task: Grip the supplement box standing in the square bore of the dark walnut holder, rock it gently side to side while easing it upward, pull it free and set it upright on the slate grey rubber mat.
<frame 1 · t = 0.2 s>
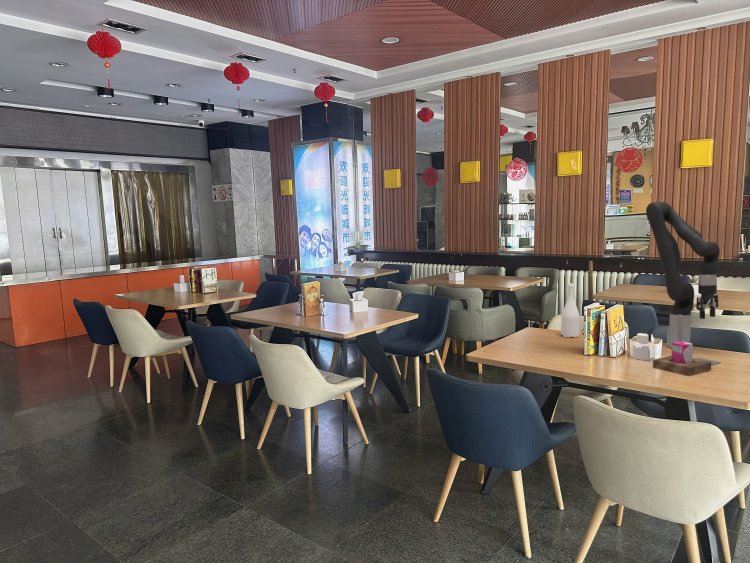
hand: (707, 317, 255), 17 cm above the table, tool pointing down, fingers open, 8 cm apart
holder: (681, 368, 232), on the table
mat: (703, 362, 241), on the table
supplement box: (681, 369, 232), resting in holder
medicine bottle: (643, 358, 251), on the table
wine bottle: (570, 336, 301), on the table
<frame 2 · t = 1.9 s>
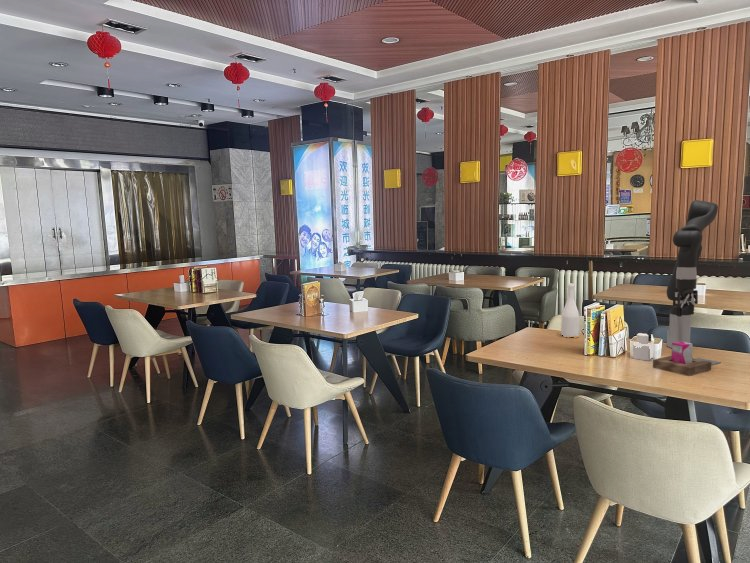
hand: (685, 315, 229), 23 cm above the table, tool pointing down, fingers open, 8 cm apart
nothing on the table moved.
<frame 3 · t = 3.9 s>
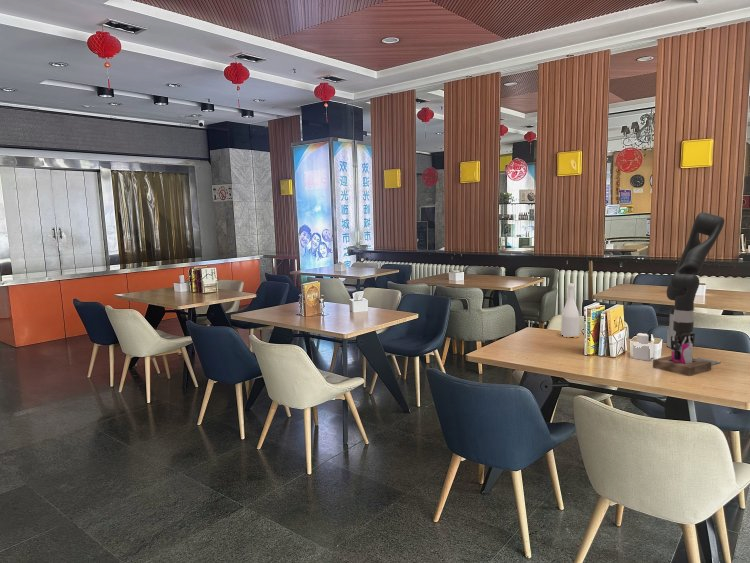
hand: (682, 358, 231), 5 cm above the table, tool pointing down, fingers closed on supplement box, 6 cm apart
supplement box: (681, 369, 232), resting in holder, touching gripper
everything else where it was.
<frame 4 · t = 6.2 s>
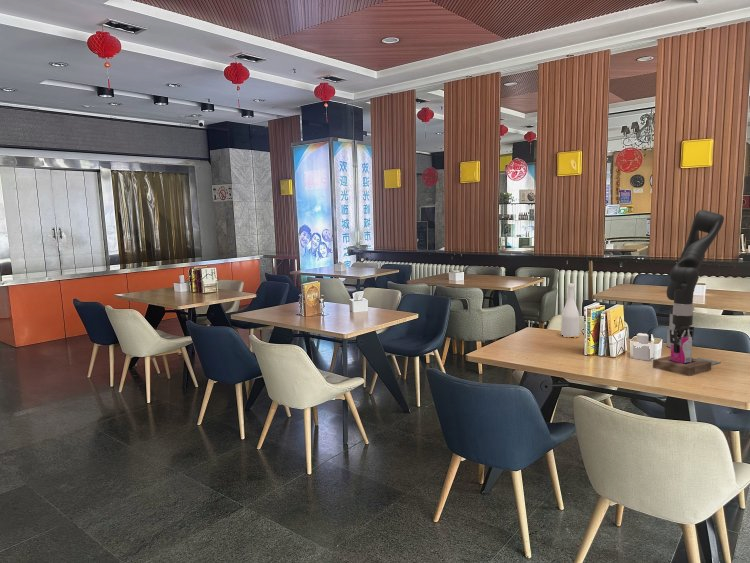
hand: (681, 351, 231), 8 cm above the table, tool pointing down, fingers closed on supplement box, 6 cm apart
supplement box: (680, 362, 231), point 3 cm above the table, touching gripper
everything else where it was.
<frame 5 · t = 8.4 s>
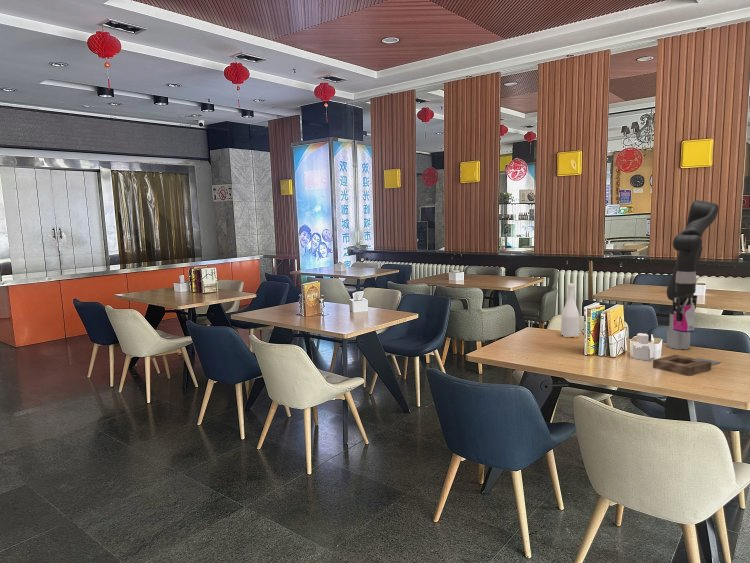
hand: (684, 320, 230), 21 cm above the table, tool pointing down, fingers closed on supplement box, 6 cm apart
supplement box: (683, 331, 231), point 16 cm above the table, touching gripper
everything else where it was.
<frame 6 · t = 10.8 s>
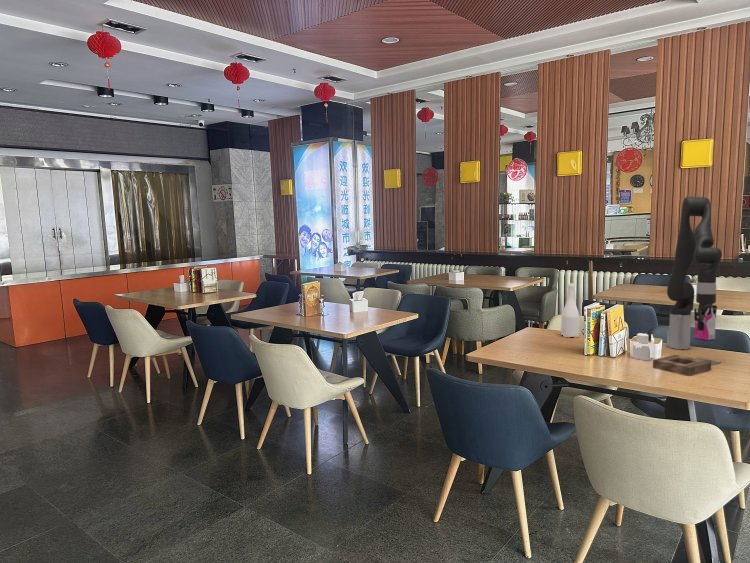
hand: (704, 329, 240), 15 cm above the table, tool pointing down, fingers closed on supplement box, 6 cm apart
supplement box: (704, 340, 240), point 10 cm above the table, touching gripper
everything else where it was.
when the fingers open (6 cm above the table, at t = 12.9 s): supplement box drops 1 cm, resting on mat.
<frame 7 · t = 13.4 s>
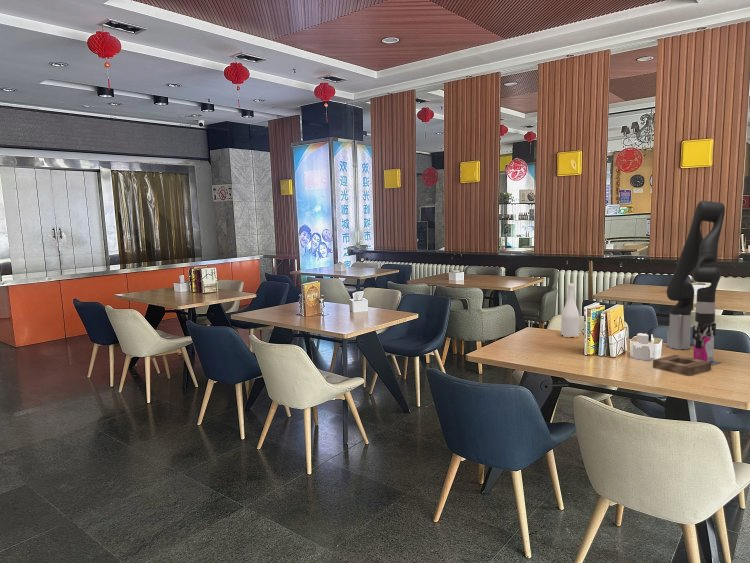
hand: (703, 347, 241), 7 cm above the table, tool pointing down, fingers open, 8 cm apart
supplement box: (703, 361, 241), resting on mat
everything else where it was.
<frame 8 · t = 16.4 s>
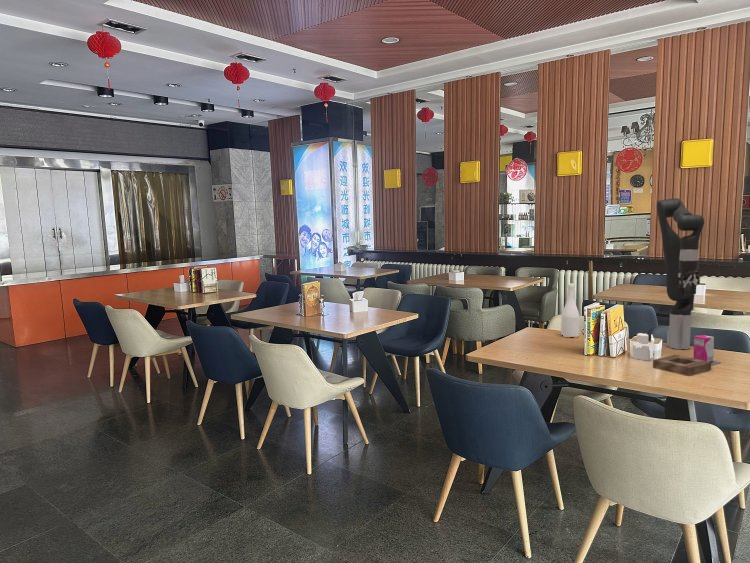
hand: (687, 294, 243), 30 cm above the table, tool pointing down, fingers open, 8 cm apart
nothing on the table moved.
at the end: supplement box inside the target area on the mat (0.1 cm from its centre), point 0.2 cm above the mat's base; supplement box tilted 0°; the gripper is holding nothing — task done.
